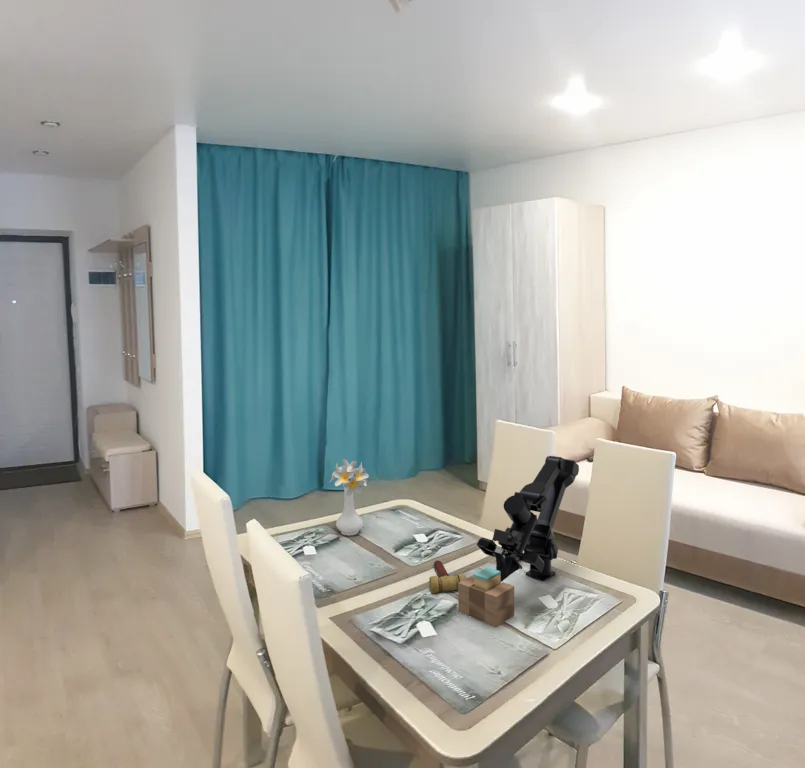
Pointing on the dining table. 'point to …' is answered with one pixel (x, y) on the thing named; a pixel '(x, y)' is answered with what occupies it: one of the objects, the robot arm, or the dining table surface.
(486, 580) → the block
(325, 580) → the dining table surface
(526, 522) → the robot arm
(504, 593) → the socket block
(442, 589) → the gavel
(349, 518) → the flower vase
